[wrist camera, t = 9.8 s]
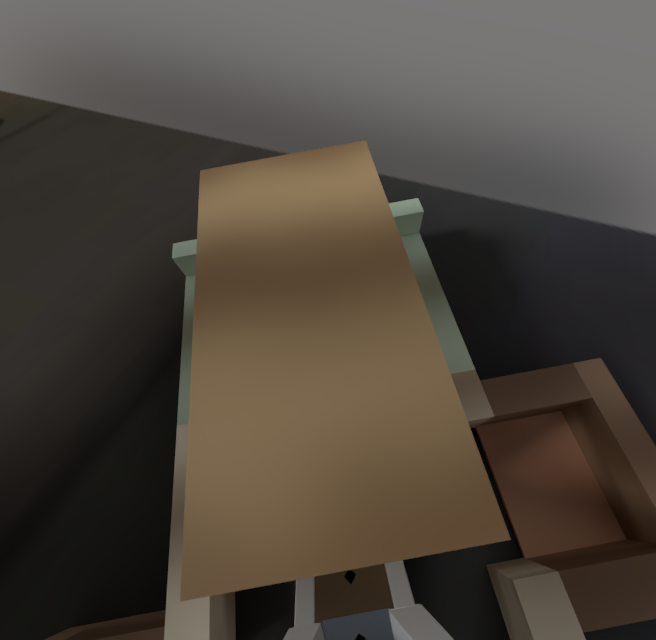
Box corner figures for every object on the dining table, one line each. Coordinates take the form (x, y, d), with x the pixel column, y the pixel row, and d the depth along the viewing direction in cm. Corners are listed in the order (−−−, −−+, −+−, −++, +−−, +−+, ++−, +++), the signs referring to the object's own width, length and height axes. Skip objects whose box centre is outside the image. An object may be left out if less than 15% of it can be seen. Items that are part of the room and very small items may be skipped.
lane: (1016, 1194, 7) (1322, 1520, 5) (-63, 1409, 7) (-263, 1844, 5) (495, 246, 20) (512, 215, 18) (121, 315, 20) (92, 293, 18)
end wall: (412, 261, 20) (423, 211, 16) (205, 300, 20) (171, 258, 16) (407, 248, 20) (418, 198, 17) (205, 286, 20) (173, 243, 17)
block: (422, 512, 14) (511, 539, 6) (283, 538, 14) (180, 601, 6) (362, 283, 19) (365, 140, 12) (265, 301, 19) (200, 170, 11)
